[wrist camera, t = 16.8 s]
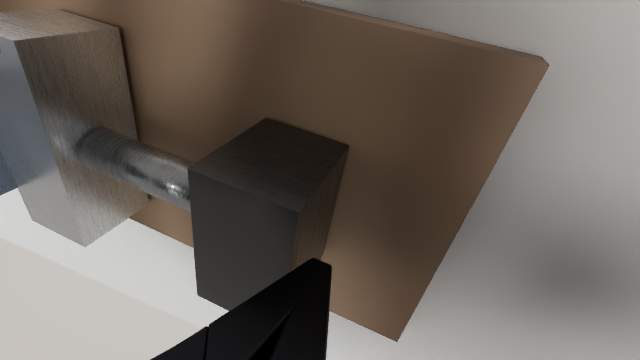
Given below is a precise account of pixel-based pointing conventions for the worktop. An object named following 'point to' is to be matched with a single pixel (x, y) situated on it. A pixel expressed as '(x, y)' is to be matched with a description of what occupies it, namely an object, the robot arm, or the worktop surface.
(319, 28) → the base
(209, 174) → the block
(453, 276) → the worktop surface
